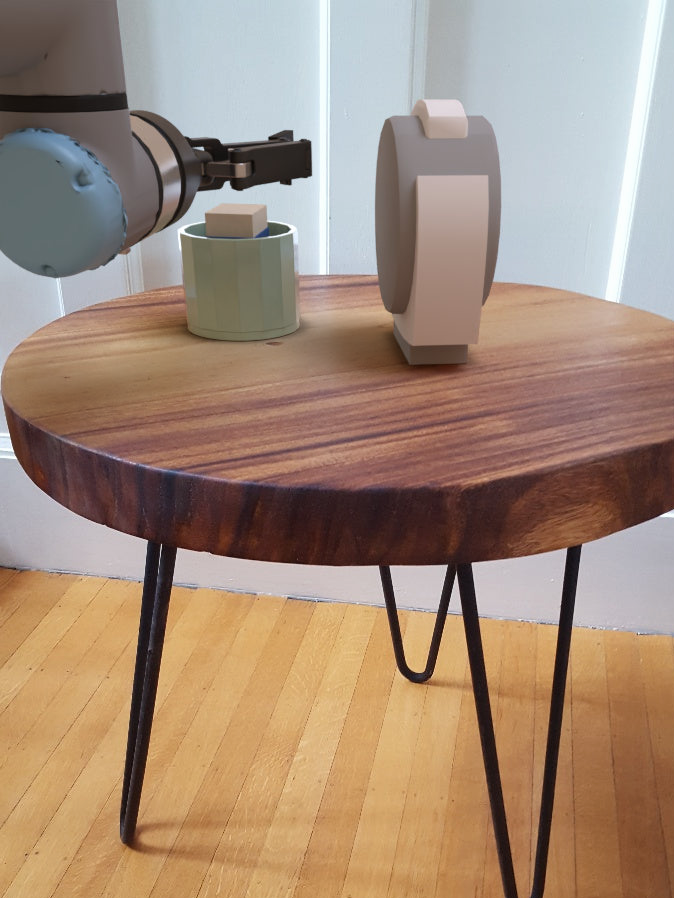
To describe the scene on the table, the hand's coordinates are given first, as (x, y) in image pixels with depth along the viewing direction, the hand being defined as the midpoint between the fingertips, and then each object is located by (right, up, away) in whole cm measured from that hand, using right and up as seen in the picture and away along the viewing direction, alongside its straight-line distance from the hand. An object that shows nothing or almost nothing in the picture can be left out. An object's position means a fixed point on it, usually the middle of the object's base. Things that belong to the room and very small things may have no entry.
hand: (211, 146), depth 82 cm
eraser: (+1, -10, +14) cm, 17 cm away
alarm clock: (+19, -15, +8) cm, 25 cm away
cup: (+1, -10, +14) cm, 18 cm away
